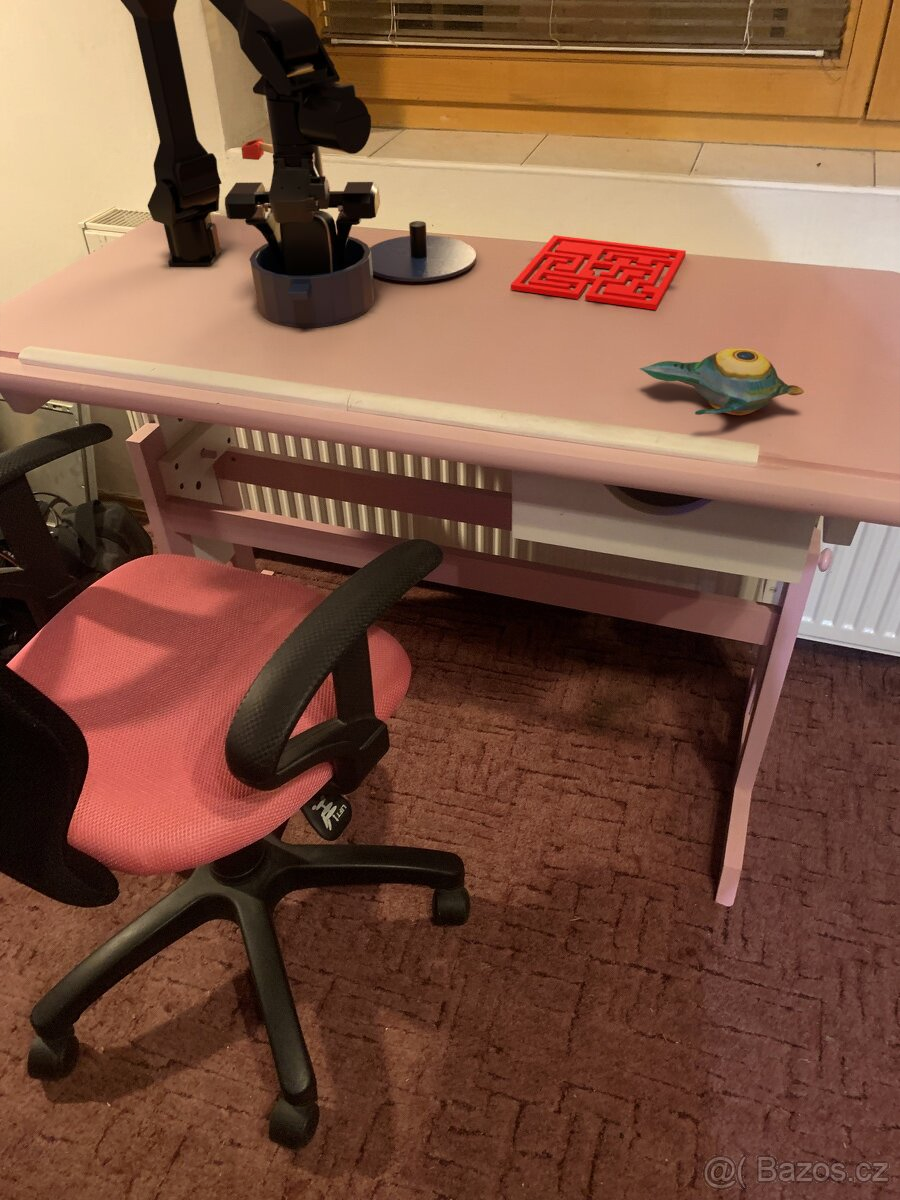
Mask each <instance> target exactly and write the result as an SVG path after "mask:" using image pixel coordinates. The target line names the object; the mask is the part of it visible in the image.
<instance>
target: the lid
mask: <svg viewBox="0 0 900 1200" xmlns="http://www.w3.org/2000/svg"><path fill="white" fill-rule="evenodd" d="M408 228H409V235H406V236H399V237H394V238H390V239H385V240H383V241H380V242H378V243H376V244H373V245H371V246H370V247H369V248H370V250H371V257H372V270H373V276H374V275H375V276H377V277H380V278H384V279H387V280H392V281H397V282H398V281H399V282H430V281H431V282H432V281H437V280H443V279H448V278H452V277H454V276H455V277H456V276H457V275H460V274H462V273H464V272H466V271H468V270H470V268H472V267H473V266H474V265H475V263H476V261H477V253H476V250H475V249H474V248H473V247H472V245H470V244H468V243H467V242H464V241H463V240H460V239H457V238H452V237H447V236H441V235H429V234H428V235H427V223H426V222H425V221H422V220H415V221H411V222H409V224H408Z"/></svg>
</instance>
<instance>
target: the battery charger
mask: <svg viewBox="0 0 900 1200" xmlns="http://www.w3.org/2000/svg"><path fill="white" fill-rule="evenodd" d="M279 225H280V235H281V244H282V251H283V257H284V263H285V268H286V274H287V275H289V276H312V275H320V274H328V273H332V272H335V269H334V255H335V254H336V253H337V227H336V220H335V219H334V217H333V216H332V215H331V213H329V212H327V211H325V210H321V209H320V210H319V211H314V218H313V220H312V221H311V222H309V223H305V224H302V223H300V222H286V223H285V224H280V223H279Z"/></svg>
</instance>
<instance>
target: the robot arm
mask: <svg viewBox="0 0 900 1200" xmlns="http://www.w3.org/2000/svg"><path fill="white" fill-rule="evenodd" d="M208 1H209V2H210V4H211V5H213V7H215V8H216V9H217V11H218V12H219V13H220V14H221V15H222V17H224V18H225V19H226V20H227V21H228V22H229V23H230V25H232V26H233V28H234V30H235V31H236V32H237V37H238V43H239V47H240V49H241V51H242V53H243V54H244V55H245V56H246V58H247V59H248V61H249V62H250V64H252V66H253V67H254V69H255V70H256V71H257V73H258V74H260V78H259V79H258V80H257V82H256V83H255V84H254V85H253V87H252V92H253V94H255V95H260V96H265V103H266V109H267V116H268V122H269V123H268V124H269V130H270V137H271V145H272V146H273V153H274V154H273V153H272V163H273V164H272V165H273V170H272V176H271V184H270V188H269V191H270V192H269V191H266V187H265V186H264V183H263V182H261V181H260V182H258V181H257V182H235V183H234V184H233V186H232V187H231V189H230V190H229V191H228V193H227V194H226V196H225V198H224V208H225V213H226V218H227V219H229V220H244V223H245V224H246V225H247V226H253V227H254V228H256V229H257V230H258V231H259V232H260V233H261V234H262V236H263V238H264V240H265V241H266V242H267V243H268V244H269V246H270V248H271V250H272V252H273V254H274V256H275V258H276V260H277V262H278V263H279V265H280V267H281V269H285V263H284V257H283V251H282V244H281V235H280V224H285V223H286V222H300V223H302V224H305V223H309V222H311V221H312V220H313V218H314V211H319V210H320V211H321V210H328V209H337V211H338V215H337V218H336V220H335V226H336V233H337V263H338V269H342V266H343V261H344V256H345V252H346V247H347V242H348V238H349V237H350V233H351V230H352V227H353V226H357V225H360V224H361V221H362V220H371V219H374V218H376V217H377V214H378V211H379V208H380V205H381V200H380V199H381V198H380V196H381V195H380V189H379V186H378V185H377V184H376V183H375V181H347V182H346V185H345V187H344V189H343V190H330V191H329V186H330V185H329V186H328V182H329V181H328V182H327V180H328V179H327V180H326V178H327V176H325V175H324V168H323V167H324V166H323V158H322V148H324V149H329V150H332V151H336V152H341V153H345V154H349V155H355V154H358V153H359V152H360V151H362V150H363V149H364V148H365V147H366V145H367V143H368V142H369V138H370V135H371V129H372V117H371V114H370V113H369V110H368V107H367V105H366V103H364V101H363V100H362V99H360V98H359V97H357V96H356V86H355V85H354V84H352V83H340V81H341V77H340V75H339V73H338V71H337V69H336V67H335V63H334V62H333V60H332V59H331V58H330V55H329V54H328V51H327V50H326V47H325V46H324V44H323V42H322V40H321V38H320V36H319V34H318V32H317V28H316V26H315V24H314V22H313V21H312V19H311V18H310V17H309V16H308V15H307V14H306V13H304V12H303V11H302V10H300V9H298V8H297V7H296V6H294V5H293V4H292V3H290V2H289V1H286V0H208ZM120 2H121V3H122V4H123V6H124V7H125V8H126V9H127V11H128V12H129V14H130V15H131V16H132V20H133V24H134V28H135V33H136V39H137V43H138V46H139V51H140V56H141V60H142V65H143V70H144V74H145V79H146V83H147V87H148V93H149V97H150V100H151V106H152V110H153V111H152V112H153V115H154V121H155V124H156V125H155V126H156V129H157V133H158V139H159V144H158V147H157V151H156V153H155V154H156V155H155V157H154V161H153V173H154V181H155V186H154V188H153V191H152V193H151V196H150V197H149V201H148V203H147V209H148V211H149V213H150V217H151V218H152V221H153V222H157V223H160V224H163V228H164V232H165V237H166V241H167V245H168V250H169V253H170V259H168V261H167V264H168V266H172V267H173V266H176V267H180V266H183V267H185V266H186V267H190V266H195V267H196V266H197V267H201V266H203V267H204V266H205V267H209V266H212V265H213V264H214V262H215V260H216V259H217V257H218V256H219V254H220V253H221V251H222V248H221V245H220V244H221V243H220V239H219V233H218V229H217V223H215V222H213V221H212V215H211V213H214V212H215V213H216V212H219V211H220V194H221V186H220V185H222V181H221V177H220V174H219V170H218V169H219V168H218V160H217V157H216V155H215V154H214V153H212V152H210V153H209V152H208V151H207V150H206V148H205V147H204V146H203V144H202V143H201V142H200V141H199V139H198V135H197V131H196V125H195V122H194V120H195V119H194V115H193V110H192V105H191V99H190V95H189V89H188V84H187V79H186V73H185V68H184V64H183V63H184V62H183V58H182V53H181V47H180V42H179V37H178V32H177V27H176V22H175V21H176V20H175V11H176V7H177V3H178V0H120ZM311 69H313V70H311ZM310 70H311V71H310ZM302 72H303V73H302ZM297 73H299V74H297ZM293 74H294V75H293ZM289 75H291V76H289ZM324 176H325V177H324Z"/></svg>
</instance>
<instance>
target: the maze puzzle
mask: <svg viewBox="0 0 900 1200" xmlns="http://www.w3.org/2000/svg"><path fill="white" fill-rule="evenodd" d="M558 243H559V244H558ZM557 244H558V245H557ZM556 246H557V247H556ZM555 247H556V248H555ZM554 248H555V249H554ZM553 249H554V251H552V250H553ZM686 252H687V250H684V249H673V248H666V247H657V246H650V245H641V244H634V243H623V242H617V241H616V242H615V241H607V240H597V239H591V238H590V239H589V238H581V237H575V236H574V237H573V236H572V237H571V236H566V235H565V236H564V235H555V234H554V235H553V236H552V237H550V239H549V240H548V241H547V242H546V244H545V245H544V246H543V247H542V248H541V249H540V251H538V252H537V254H536V255H535V256H534V257H533V259H531V261H530V262H529V263H528V264H527V265H526V266H525V268H524V269H523V270H522V271H521V273H519V275H518V276H517V277H516V278H515V279H514V280H513V281H512V283H510V291H519V292H526V293H533V294H541V295H547V296H554V297H562V298H568V299H576V300H578V299H579V298H580V297H581V295H583V292H584V291H585V290H586V288H587V287H588V284H592V285H591V286H590V287H589V288H588V290H587V291H586V293H585V294H584V301H589V302H590V301H591V302H596V303H597V302H598V303H604V304H611V305H619V306H625V307H634V308H639V309H640V308H641V309H646V310H647V309H648V310H653V311H654V310H655V311H656V310H657V308H658V306H659V305H660V303H661V301H662V299H663V297H664V296H665V293H666V292H667V290H668V289H669V287H670V284H671V282H672V281H673V279H674V277H675V275H676V273H677V272H678V269H679V268H680V266H681V264H682V262H683V260H684V258H685V257H686V255H687V254H686ZM604 254H605V256H604V257H603V260H600V259H601V258H602V256H603V255H604ZM670 257H674V258H670ZM544 259H546V260H545V261H544ZM585 259H587V261H586V263H585V264H584V265H583V267H582V268H581V269H580V271H578V270H579V268H580V267H581V265H582V264H583V263H584V262H585ZM613 260H615V261H613ZM542 262H543V263H542ZM569 262H572V263H571V264H569ZM632 262H634V263H636V264H632ZM541 263H542V265H541ZM540 265H541V266H540ZM553 265H555V266H554V267H553ZM653 265H655V267H654V266H653ZM539 266H540V267H539ZM538 267H539V268H538ZM552 267H553V270H552V269H551V268H552ZM665 267H668V269H667V271H666V273H665V275H664V276H663V278H662V280H661V281H660V283H659V285H658V286H655V285H656V283H657V281H658V280H659V278H660V276H661V275H662V272H663V271H664V269H665ZM537 268H538V269H537ZM593 268H598V269H607V270H609V271H600V273H599V275H598V276H597V275H596V270H594V269H593ZM536 269H537V270H536ZM535 270H536V271H535ZM534 271H535V273H534V274H533V272H534ZM577 271H578V273H576V272H577ZM620 271H621V272H622V273H621V274H620V276H619V277H618V278H616V277H617V275H618V274H619V272H620ZM532 274H533V275H532ZM531 275H532V276H531ZM646 275H649V277H648V278H647V279H644V278H645V276H646ZM529 278H530V279H529ZM543 278H545V280H543ZM527 279H529V280H528V281H527ZM526 281H527V283H525V282H526ZM628 281H631V282H630V284H629V285H626V283H627V282H628ZM603 286H605V288H604V289H603V291H602V293H599V291H600V290H601V288H602V287H603ZM571 287H574V289H571ZM639 287H640V288H642V289H641V290H640V293H639V292H637V290H638V289H639ZM647 297H650V298H651V300H647Z"/></svg>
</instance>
